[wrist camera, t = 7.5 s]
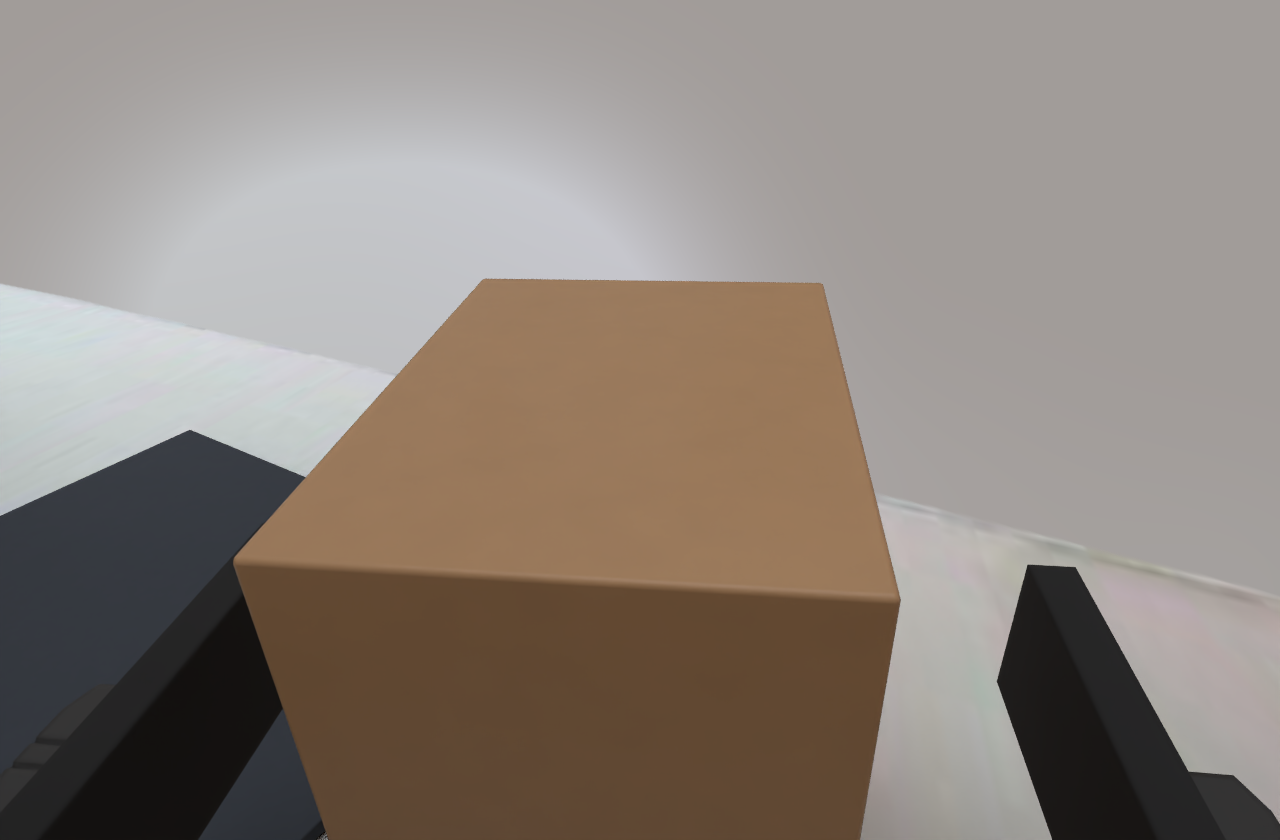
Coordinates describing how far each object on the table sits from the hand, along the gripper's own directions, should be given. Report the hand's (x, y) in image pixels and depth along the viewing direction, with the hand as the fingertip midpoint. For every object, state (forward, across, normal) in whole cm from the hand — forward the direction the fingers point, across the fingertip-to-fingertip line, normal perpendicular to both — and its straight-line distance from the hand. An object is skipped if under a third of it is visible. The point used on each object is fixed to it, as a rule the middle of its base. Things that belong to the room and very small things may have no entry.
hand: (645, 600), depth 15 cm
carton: (-2, 0, -6) cm, 7 cm away
